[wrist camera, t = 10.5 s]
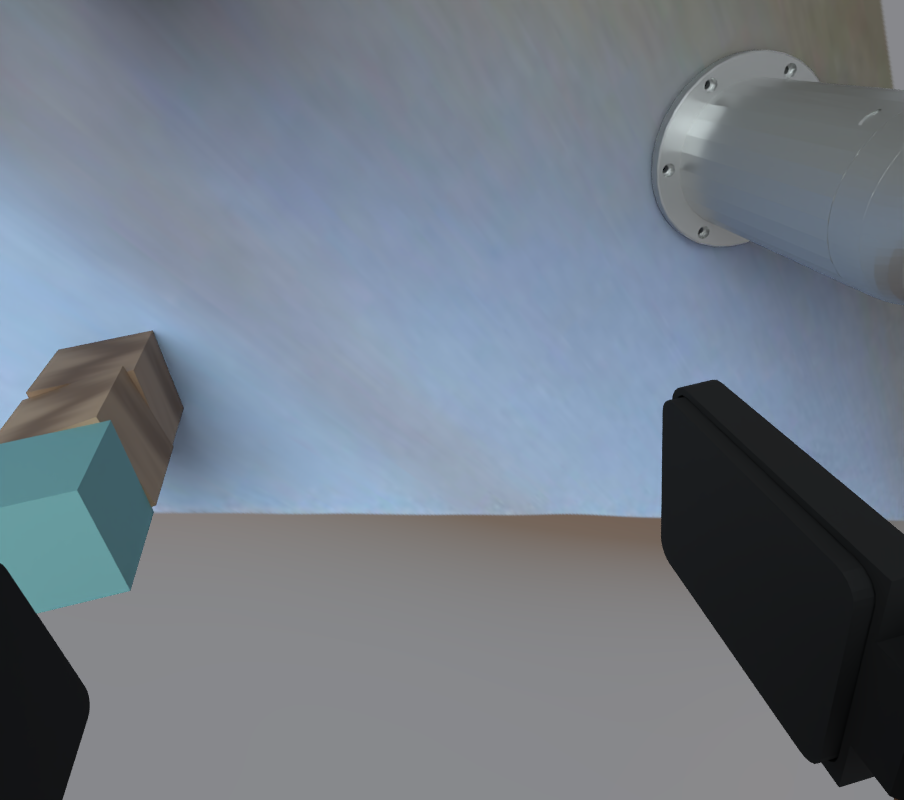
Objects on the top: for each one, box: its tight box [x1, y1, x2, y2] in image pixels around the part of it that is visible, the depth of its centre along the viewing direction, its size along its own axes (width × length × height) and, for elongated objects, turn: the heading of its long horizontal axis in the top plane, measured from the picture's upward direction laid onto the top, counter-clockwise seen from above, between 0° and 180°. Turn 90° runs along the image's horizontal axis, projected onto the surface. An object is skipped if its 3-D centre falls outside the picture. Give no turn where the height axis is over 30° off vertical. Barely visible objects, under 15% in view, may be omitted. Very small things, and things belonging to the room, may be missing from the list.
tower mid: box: [0, 366, 173, 507], centre depth 37 cm, size 6×6×6 cm
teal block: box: [0, 420, 154, 614], centre depth 32 cm, size 6×6×6 cm
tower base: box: [26, 331, 183, 445], centre depth 42 cm, size 6×6×6 cm
